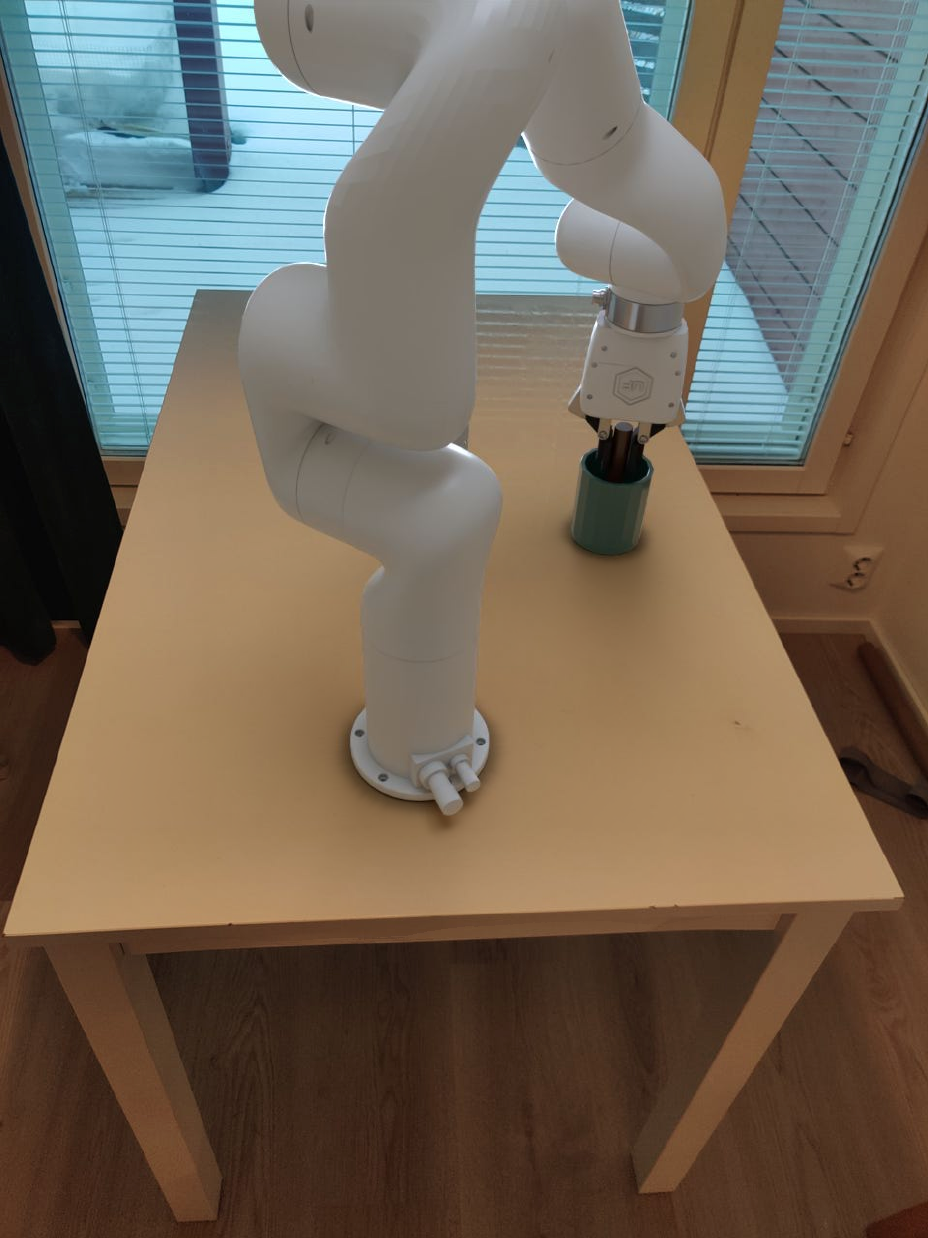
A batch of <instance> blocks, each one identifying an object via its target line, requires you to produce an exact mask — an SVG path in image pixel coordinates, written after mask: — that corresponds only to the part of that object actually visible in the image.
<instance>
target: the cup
mask: <svg viewBox="0 0 928 1238" xmlns="http://www.w3.org/2000/svg"><path fill="white" fill-rule="evenodd" d="M597 448H598V447H594V448H591V449H590V450H588V451H587V452H585V453H583V455H582V456H581V458H580V461H579V467H578V468H579V469H578V473H577V474H578V475H577V482H576V488H575V495H574V502H573V509H572V516H571V517H572V518H571V528H570V534H571V536H572V539H573V540H574V542H575V543H577V545H579V547H581V548H583V549H584V550H587V551H588V552H592V553H594V554H598V555H604V556H615V555H622V554H625V553H628V552H630V551H632V550H633V549H634V548H635V547H636V546H638V544H639V541H640V537H641V533H642V529H643V524H644V519H645V514H646V509H647V505H648V500H649V495H650V490H651V487H652V481H653V476H654V473H655V472H654V471H655V468H654V466H653V463H652V461H651V460H650V459H649V458H648V457H647V456H646V455H645V454H643V456H642V461H641V465H639V464H635V467H634V472H633V475H629V474H628V473H627V466H626V472H625V477H624V483H623V484H616V483H611V482H606V475H607V471H606V472H602V471H601V467H602V460H596V455H597Z"/></svg>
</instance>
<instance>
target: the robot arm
mask: <svg viewBox="0 0 928 1238" xmlns="http://www.w3.org/2000/svg"><path fill="white" fill-rule="evenodd" d="M253 13H254V21H255V27H256V30H257V35H258V37H259V41H260V43H261V46H262V48H263V49H264V52H265V54H266V56H267V58H268V59H269V60H270V62H271V64H272V65H273V66H274V68H275V69H276V71H277V72H278V73H279V74H280V76H282V77H283V78H284V79H285V80H286V81H287V82H288V83H289V84H291V85H293V86H294V87H296V88H298V90H300V91H302V92H305V93H307V94H310V95H312V96H315V97H319V98H322V99H326V100H331V101H336V102H340V103H345V104H350V105H354V106H357V107H363V108H366V109H371V110H375V111H381V112H383V113H382V114H381V116H380V117H379V119H378V120H377V121H376V123H375V125H374V126H373V127H372V129H371V130H370V132H369V133H368V134H367V136H366V137H365V138H364V140H363V142H362V143H360V145H359V146H358V148H357V149H356V151H355V152H354V153H353V154H352V156H351V157H350V159H349V160H348V162H347V163H346V164H345V166H344V168H343V169H342V170H341V172H340V174H339V176H338V178H337V179H336V181H335V183H334V185H333V187H332V190H331V191H330V194H329V197H328V199H327V202H326V206H325V208H324V209H325V210H324V214H323V224H322V225H323V226H322V229H323V233H322V234H323V248H324V257H325V259H324V260H325V264H322V263H315V262H313V263H312V262H303V261H302V262H294V263H292V262H291V263H289V264H286V265H282V266H280V267H278V268H276V269H274V270H273V271H271V272H270V273H268V274H267V275H266V276H265V277H263V279H262V280H261V281H260V282H259V283H258V285H257V286H256V287H255V288H254V290H253V292H252V293H251V295H250V296H249V299H248V301H247V304H246V305H245V309H244V312H243V315H242V318H241V319H242V320H241V323H240V329H239V336H238V350H237V351H238V355H237V356H238V357H237V358H238V359H237V360H238V367H239V374H240V380H241V383H242V388H243V389H242V390H243V393H244V398H245V401H246V405H247V408H248V413H249V417H250V422H251V425H252V429H253V432H254V433H253V434H254V437H255V441H256V445H257V449H258V453H259V457H260V460H261V465H262V467H263V471H264V475H265V478H266V482H267V485H268V487H269V490H270V492H271V494H272V496H273V498H274V500H275V503H277V505H278V507H280V509H281V510H282V511H283V512H284V513H285V514H286V515H287V516H289V517H290V518H291V519H294V520H295V521H296V522H299V523H301V524H302V525H304V526H306V527H308V528H311V529H312V530H314V531H317V532H319V533H321V534H324V535H326V536H328V537H330V538H333V539H335V540H337V541H339V542H342V543H344V544H346V545H348V546H351V547H353V548H354V549H355V550H358V551H359V552H362V553H365V554H367V555H369V556H371V557H372V558H374V559H376V560H377V561H378V562H379V563H380V564H381V566H379V568H378V569H377V570H376V571H375V572H373V574H372V575H371V576H370V577H369V579H368V580H367V582H366V584H365V586H364V588H363V590H362V593H361V597H360V604H359V605H360V606H359V607H360V608H359V615H360V628H361V631H360V632H361V647H362V665H363V667H362V668H363V683H364V684H363V685H364V702H365V703H364V704H365V707H364V708H363V709H362V711H361V712H360V713H359V714H358V715H357V717H356V718H355V721H354V722H353V724H352V727H351V731H350V735H349V749H350V756H351V760H352V762H353V766H354V767H355V769H356V771H357V772H358V773H359V775H360V777H361V778H362V779H363V780H364V781H366V782H367V783H368V784H369V785H370V786H371V787H373V788H374V789H376V790H378V791H379V792H380V793H383V794H386V795H388V796H391V797H392V798H396V799H402V800H405V801H417V802H418V801H419V802H421V801H433V800H435V802H436V804H437V806H438V808H439V810H440V811H441V813H442V814H443V815H444V816H452V815H455V814H456V813H458V812H459V811H460V810H461V809H462V808H463V806H464V801H463V799H462V797H461V796H460V794H459V792H461V790H463V789H465V791H466V792H467V793H473V792H475V791H477V790H478V789H479V788H480V787H481V785H482V783H481V781H480V779H479V776H480V774H481V773H482V771H483V769H484V768H485V767H486V764H487V761H488V758H489V751H490V733H489V728H488V725H487V723H486V721H485V719H484V717H483V715H482V714H481V713H480V712H479V711H478V709H477V708H476V707H475V706H476V694H477V678H478V677H477V676H478V661H479V646H480V645H479V644H480V633H481V632H480V631H481V616H482V603H483V594H484V593H483V592H484V584H485V578H486V571H487V568H488V563H489V559H490V555H491V552H492V548H493V544H494V541H495V538H496V534H497V531H498V528H499V525H500V521H501V516H502V509H503V501H504V499H503V496H504V495H503V490H502V489H503V488H502V486H501V483H500V480H499V478H498V476H497V474H496V473H495V472H494V471H493V469H492V468H491V467H490V466H489V465H488V464H487V463H486V462H485V461H484V460H483V459H481V458H480V457H478V456H477V455H476V454H474V453H473V452H470V451H469V450H468V449H467V450H468V451H467V450H465V449H463V448H462V447H459V446H457V445H455V444H453V443H452V442H454V441H455V440H457V439H458V438H459V437H460V436H461V435H462V433H463V432H464V430H465V429H466V427H467V426H468V424H469V425H470V423H471V422H470V421H471V418H472V416H473V412H474V409H475V406H476V399H477V386H478V385H477V383H478V345H477V343H478V341H477V340H478V339H477V338H478V337H477V300H476V299H477V294H476V246H477V245H476V244H477V234H478V228H479V225H480V220H481V216H482V213H483V211H484V208H485V206H486V203H487V200H488V198H489V195H490V194H491V191H492V189H493V187H494V186H495V183H496V182H497V180H498V178H499V175H500V173H501V172H502V170H503V168H504V166H505V164H506V163H507V161H508V159H509V157H510V156H511V153H512V152H513V150H514V148H515V147H516V145H517V144H518V141H519V139H520V138H521V136H522V139H523V142H524V143H525V145H526V148H527V150H528V153H529V155H530V157H531V159H532V161H533V162H532V163H533V164H534V166H535V168H536V169H537V170H538V172H539V173H540V174H541V176H542V177H543V178H544V179H545V180H546V181H547V182H548V183H549V184H551V185H552V186H554V187H555V188H557V189H558V190H559V191H560V192H563V193H564V194H566V195H568V196H569V197H571V198H572V199H571V200H570V201H569V202H568V203H567V204H566V205H565V207H564V209H563V210H562V212H561V213H560V216H559V219H558V221H557V223H556V228H555V232H554V247H555V252H556V255H557V257H558V259H559V261H560V262H561V264H562V265H563V266H564V267H565V268H566V269H567V270H568V271H570V272H572V273H574V274H575V275H578V276H580V277H582V278H586V279H590V280H593V281H596V282H600V283H604V284H607V285H608V286H605V288H604V289H601V288H600V290H598V289H597V290H596V289H592V297H591V305H594V306H598V307H602V310H601V311H599V313H598V315H597V317H596V320H595V322H594V325H593V328H592V332H591V334H590V340H589V342H588V343H589V344H588V347H587V351H586V355H585V361H584V366H583V373H582V378H581V382H580V384H579V386H578V387H577V388H576V390H575V391H574V393H573V394H572V396H571V398H570V399H569V401H568V407H567V410H568V413H571V414H573V415H574V416H576V417H578V418H580V419H584V420H585V422H586V423H587V424H588V425H589V426H590V428H591V429H592V430H593V431H594V432H595V433H596V434H597V438H598V442H597V447H596V448H597V455H596V460H602V467H601V471H602V472H606V471H608V467H609V461H610V455H611V449H612V442H613V433H614V428H613V425H612V421H613V420H614V421H622V422H634V423H637V426H636V427H634V428H633V433H632V439H631V444H630V450H629V455H628V461H627V473H628V474H629V475H633V472H634V467H635V464H639V465H641V461H642V456H643V455H644V450H645V445H646V444H647V443H649V441H650V439H651V438H653V437H655V436H656V435H657V434H659V433H661V432H663V430H666V428H672V427H673V428H674V427H677V426H681V425H683V424H685V423H686V422H687V416H686V415H687V414H686V410H685V406H684V403H683V399H682V394H683V389H684V382H685V376H686V370H687V368H686V367H687V363H688V362H687V361H688V353H689V352H688V351H689V327H688V323H687V320H686V319H685V318H684V311H685V306H686V303H691V302H693V301H694V302H695V301H697V300H699V299H700V298H701V297H703V296H704V295H706V294H707V293H708V292H709V291H710V290H711V289H712V287H713V286H714V284H715V283H716V282H717V279H718V278H719V276H720V274H721V271H722V268H723V265H724V263H725V262H724V261H725V258H726V253H727V244H728V223H727V211H726V205H725V198H724V193H723V188H722V185H721V182H720V179H719V177H718V175H717V173H716V171H715V170H714V167H712V164H710V162H709V161H708V159H707V158H706V157H704V156H703V154H702V152H700V151H699V150H698V148H696V147H695V146H694V145H693V144H692V143H691V142H690V141H689V140H688V139H687V138H685V137H684V136H683V134H682V133H680V131H679V130H677V129H676V128H675V127H674V126H673V125H672V124H671V123H670V122H669V120H667V119H666V118H665V117H664V116H663V115H661V114H660V113H659V112H658V111H657V110H656V109H654V108H653V107H652V106H650V105H649V104H648V103H647V102H646V101H645V99H644V95H643V91H642V87H641V86H642V85H641V81H640V78H639V76H638V71H637V66H636V63H635V59H634V55H633V51H632V46H631V42H630V36H629V33H628V29H627V24H626V21H625V16H624V12H623V9H622V4H621V1H620V0H253Z"/></svg>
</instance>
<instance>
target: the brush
mask: <svg viewBox="0 0 928 1238" xmlns="http://www.w3.org/2000/svg"><path fill="white" fill-rule="evenodd" d="M633 431H634V425H633V424H632V423H630V422H628V421H618V422H616V423H615V424H614V428H613V442H612V449H611V455H610V461H609V467H608V471H607V475H606V482H611V483H616V484H623V483H624V477H625V472H626V466H627V461H628V455H629V450H630V444H631V439H632V433H633Z"/></svg>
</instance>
